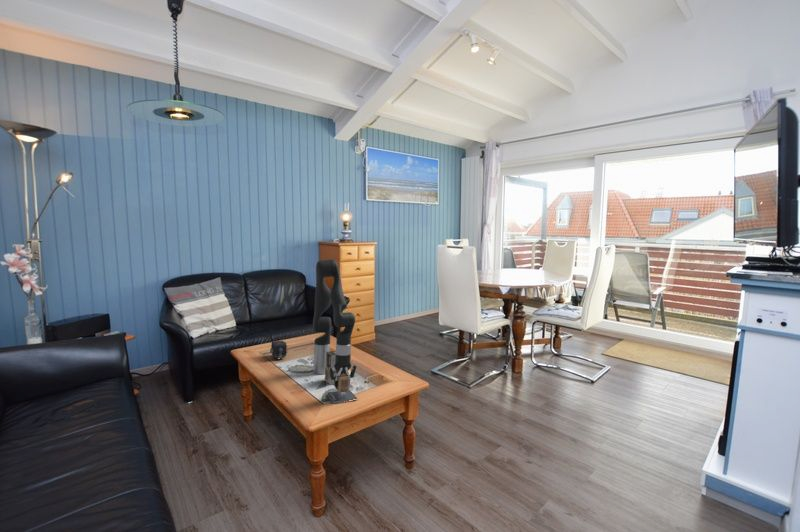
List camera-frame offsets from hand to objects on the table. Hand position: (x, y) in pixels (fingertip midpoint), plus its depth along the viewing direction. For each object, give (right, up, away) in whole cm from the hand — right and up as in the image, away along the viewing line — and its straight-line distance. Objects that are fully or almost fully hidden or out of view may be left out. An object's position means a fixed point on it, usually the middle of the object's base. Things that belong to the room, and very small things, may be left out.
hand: (341, 386), depth 180 cm
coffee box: (-9, -5, +23) cm, 25 cm away
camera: (-53, -2, +64) cm, 83 cm away
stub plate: (0, -6, 0) cm, 6 cm away
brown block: (0, -1, 0) cm, 1 cm away
